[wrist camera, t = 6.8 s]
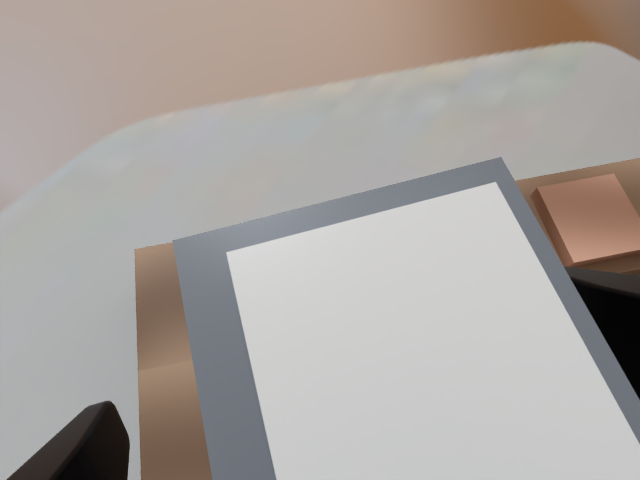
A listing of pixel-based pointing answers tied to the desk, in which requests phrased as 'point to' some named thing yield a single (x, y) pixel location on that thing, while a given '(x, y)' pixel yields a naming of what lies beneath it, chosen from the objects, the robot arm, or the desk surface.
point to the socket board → (172, 336)
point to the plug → (402, 342)
